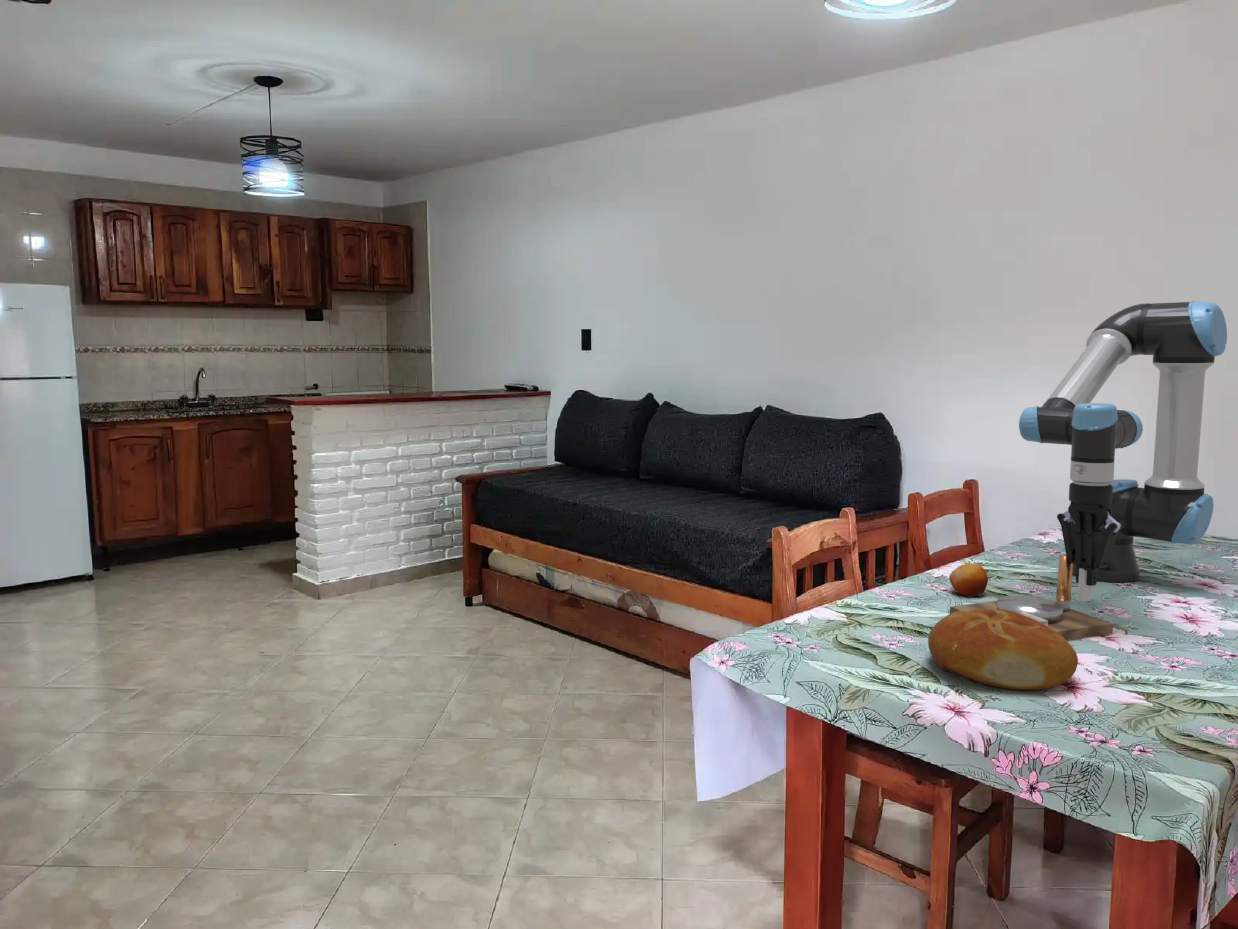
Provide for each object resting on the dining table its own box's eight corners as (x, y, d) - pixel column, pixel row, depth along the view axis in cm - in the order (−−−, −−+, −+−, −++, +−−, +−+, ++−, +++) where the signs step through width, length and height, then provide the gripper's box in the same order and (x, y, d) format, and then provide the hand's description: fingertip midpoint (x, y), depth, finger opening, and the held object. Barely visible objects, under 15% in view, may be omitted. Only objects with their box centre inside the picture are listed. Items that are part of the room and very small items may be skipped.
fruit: (1000, 593, 193) (981, 562, 193) (966, 610, 195) (948, 579, 195) (992, 584, 201) (974, 554, 201) (960, 599, 203) (942, 570, 203)
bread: (1002, 708, 137) (1006, 646, 136) (899, 659, 158) (901, 605, 157) (1104, 685, 146) (1109, 627, 145) (993, 641, 167) (996, 590, 166)
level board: (1033, 605, 190) (1034, 585, 189) (1112, 633, 171) (1114, 611, 170) (949, 616, 182) (950, 595, 182) (1022, 646, 164) (1023, 624, 163)
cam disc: (1029, 625, 169) (1033, 570, 167) (983, 608, 180) (986, 556, 178) (1092, 615, 174) (1096, 561, 173) (1043, 599, 186) (1047, 548, 184)
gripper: (1049, 480, 176) (1044, 595, 179) (1108, 488, 164) (1101, 611, 167) (1075, 477, 179) (1069, 590, 182) (1134, 485, 167) (1127, 605, 170)
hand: (1085, 600), depth 175 cm, fingers closed
